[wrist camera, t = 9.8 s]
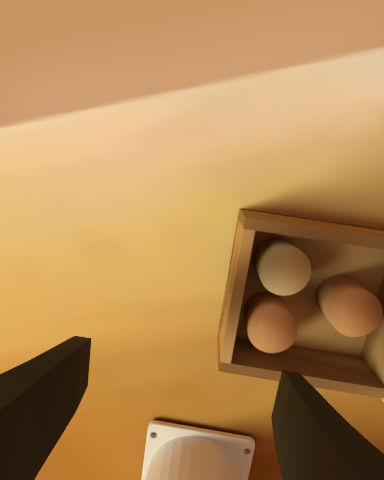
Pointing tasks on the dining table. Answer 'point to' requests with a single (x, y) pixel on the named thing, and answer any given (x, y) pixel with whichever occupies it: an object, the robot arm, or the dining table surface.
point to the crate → (305, 303)
